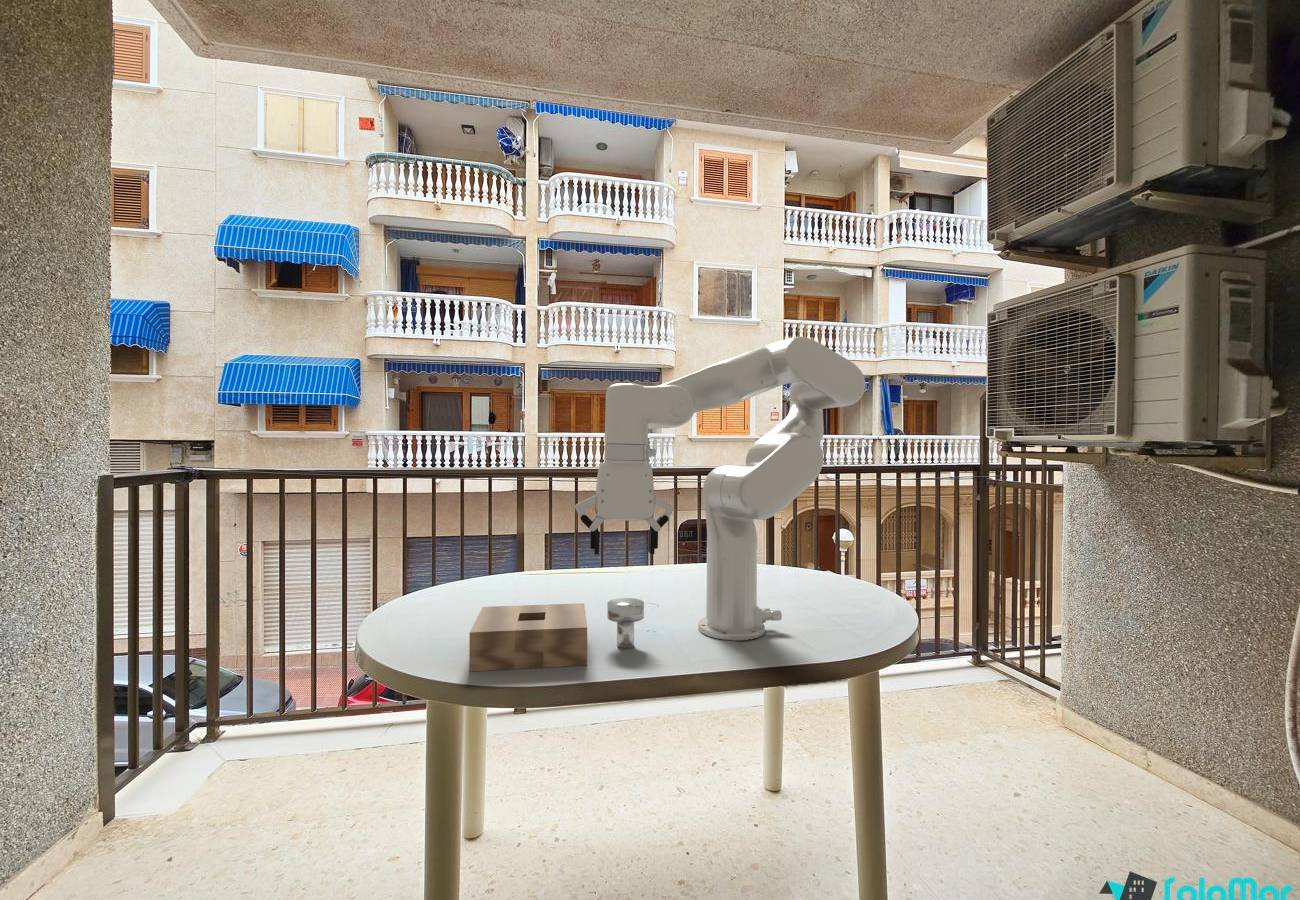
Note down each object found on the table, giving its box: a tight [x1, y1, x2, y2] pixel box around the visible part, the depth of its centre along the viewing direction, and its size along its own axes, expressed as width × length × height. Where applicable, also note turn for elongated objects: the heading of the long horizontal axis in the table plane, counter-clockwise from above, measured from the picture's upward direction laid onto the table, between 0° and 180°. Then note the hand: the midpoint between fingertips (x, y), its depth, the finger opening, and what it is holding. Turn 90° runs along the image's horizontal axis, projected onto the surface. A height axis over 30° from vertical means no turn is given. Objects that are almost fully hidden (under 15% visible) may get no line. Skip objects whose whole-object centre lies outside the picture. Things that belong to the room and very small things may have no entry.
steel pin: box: [606, 597, 645, 650], centre depth 97 cm, size 6×6×8 cm
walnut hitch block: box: [468, 602, 588, 672], centre depth 93 cm, size 18×14×6 cm
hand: (623, 553), depth 97 cm, fingers open, 9 cm apart
